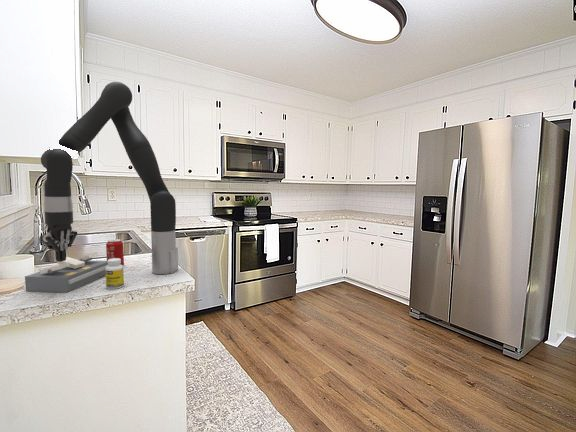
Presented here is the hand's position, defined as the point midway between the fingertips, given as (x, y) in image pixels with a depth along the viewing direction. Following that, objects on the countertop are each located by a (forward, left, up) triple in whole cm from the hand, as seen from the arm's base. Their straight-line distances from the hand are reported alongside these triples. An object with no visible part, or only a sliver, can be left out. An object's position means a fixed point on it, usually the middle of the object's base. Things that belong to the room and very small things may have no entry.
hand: (61, 260), depth 100 cm
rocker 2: (+3, -7, -4) cm, 8 cm away
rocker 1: (+2, 0, -4) cm, 4 cm away
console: (+2, -7, -10) cm, 12 cm away
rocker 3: (+2, -14, -4) cm, 15 cm away
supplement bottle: (-17, -3, -10) cm, 20 cm away
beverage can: (-2, -26, -10) cm, 28 cm away
